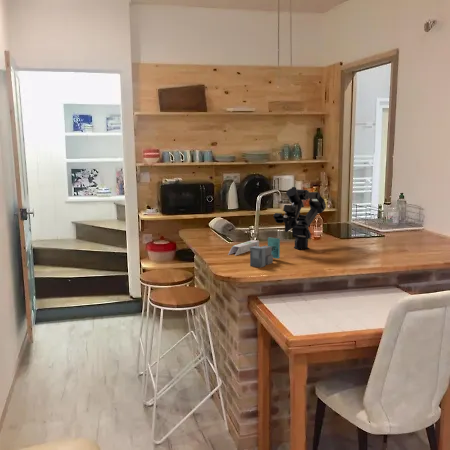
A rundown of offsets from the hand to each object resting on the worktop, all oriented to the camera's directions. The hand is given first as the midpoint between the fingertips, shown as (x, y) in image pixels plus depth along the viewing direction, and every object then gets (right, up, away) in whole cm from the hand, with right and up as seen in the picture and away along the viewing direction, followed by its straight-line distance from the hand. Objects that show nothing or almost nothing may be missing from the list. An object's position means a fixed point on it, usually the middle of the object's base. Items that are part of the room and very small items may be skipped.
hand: (285, 231), depth 261 cm
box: (-22, -12, +11) cm, 27 cm away
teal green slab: (-10, -14, -14) cm, 22 cm away
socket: (-16, -16, -22) cm, 32 cm away
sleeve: (-12, -15, -16) cm, 25 cm away
